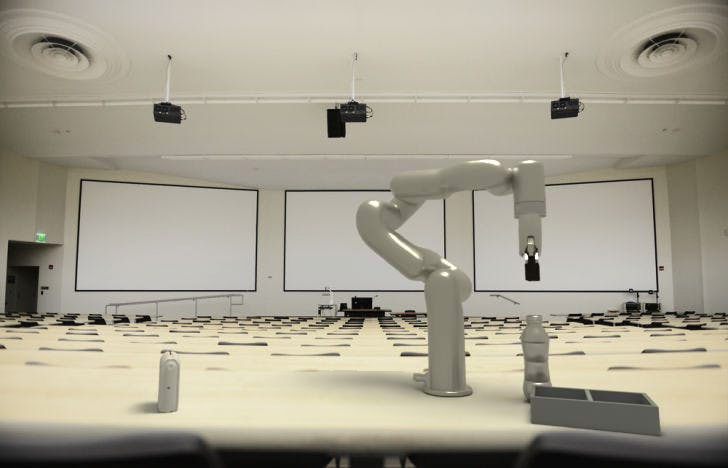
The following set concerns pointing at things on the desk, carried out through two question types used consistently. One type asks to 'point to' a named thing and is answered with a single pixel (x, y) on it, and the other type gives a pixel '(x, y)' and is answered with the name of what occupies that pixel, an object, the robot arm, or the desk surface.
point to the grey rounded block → (169, 382)
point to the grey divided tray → (595, 409)
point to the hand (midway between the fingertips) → (533, 280)
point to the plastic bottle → (535, 354)
